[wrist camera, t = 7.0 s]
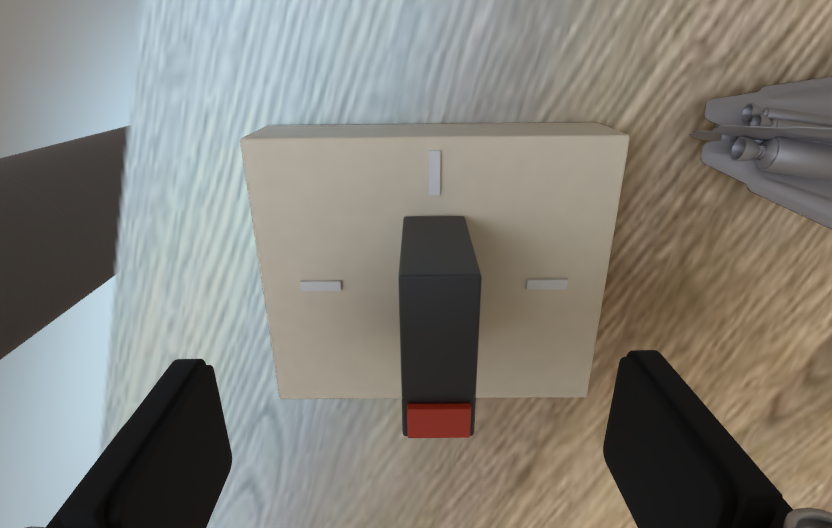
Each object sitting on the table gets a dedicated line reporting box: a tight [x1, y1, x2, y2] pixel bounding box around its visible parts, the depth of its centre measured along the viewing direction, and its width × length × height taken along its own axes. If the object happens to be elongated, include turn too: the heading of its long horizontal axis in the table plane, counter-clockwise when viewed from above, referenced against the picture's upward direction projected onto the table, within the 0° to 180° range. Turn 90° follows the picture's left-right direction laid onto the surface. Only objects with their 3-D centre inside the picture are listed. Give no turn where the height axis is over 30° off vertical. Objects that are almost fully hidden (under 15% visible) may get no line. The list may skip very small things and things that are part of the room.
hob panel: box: [240, 122, 630, 399], centre depth 18 cm, size 12×10×3 cm
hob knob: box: [398, 216, 482, 438], centre depth 14 cm, size 5×2×5 cm, turn 1°
